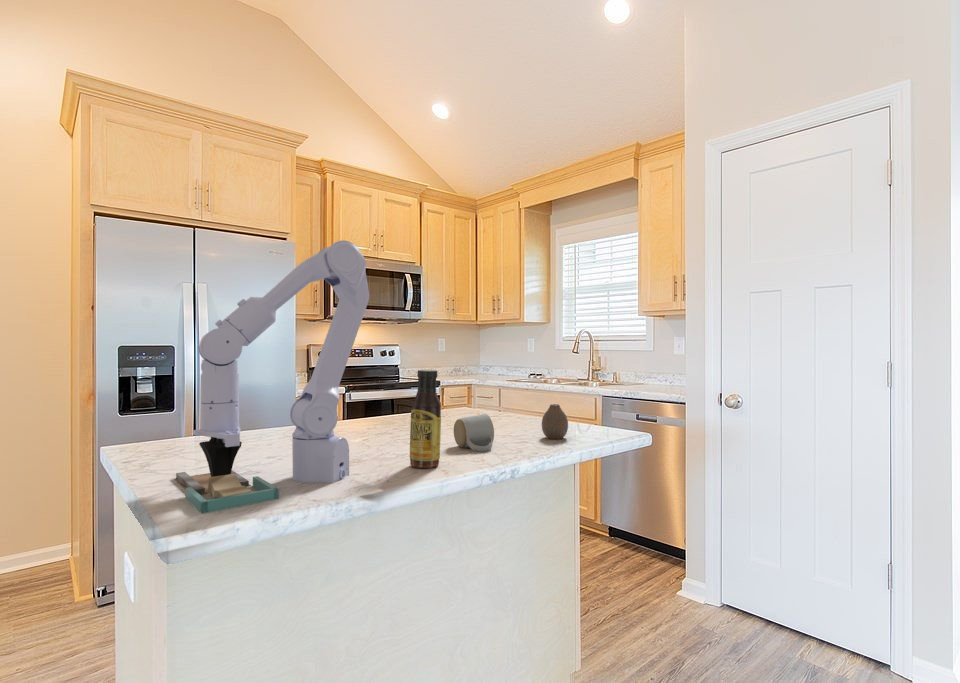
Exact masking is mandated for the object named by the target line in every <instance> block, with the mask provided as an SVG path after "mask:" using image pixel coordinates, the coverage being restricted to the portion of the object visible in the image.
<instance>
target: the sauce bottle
mask: <svg viewBox="0 0 960 683" xmlns="http://www.w3.org/2000/svg"><path fill="white" fill-rule="evenodd" d="M437 378H438V370H437V369H418V370H417V379H418V380H417V392H416V395H415V398H414V400H413V401H414V402H413V405H412V407H411V411H410V428H409V429H410V430H409V431H410V432H409V433H410V434H409V460H410V461H409V462H410V463H409V464H410V466H411V467H413V468H416V469H432V468H435V467H438V466H439V464H440V459H441V440H442V439H441V438H442V436H441V433H442V415H441V414H442V413H441V412H442V403H441V400H440V397H438V394H437Z"/></svg>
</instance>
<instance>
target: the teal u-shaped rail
mask: <svg viewBox="0 0 960 683" xmlns="http://www.w3.org/2000/svg"><path fill="white" fill-rule="evenodd" d="M252 487H253V488H255V489H257V490H256V491H252V492H249V493H244V494H238V495H233V496H227V497H222V498H212V499H205V497H203V496H202V495H200V494H199V493H197V492H196V491H195V490H194V489H193V488H192V487H188V488H186V490H185V499H186V500H187V501H188V502H189V503H190V504H191V505H192V506H193V507H194V508H196V509H197V510H198V511H199V512H200V514H206V513H211V512H216V511H221V510H226V509H233V508H237V507H242V506H247V505H252V504H257V503H263V502H268V501H274V500H278V499H279V498H280V488H279V487H277V486H276V485H273V484H272V483H270V482H268V481H266V480H265V479H263V478H261V476H258V475H257V476H252Z"/></svg>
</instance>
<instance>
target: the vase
mask: <svg viewBox="0 0 960 683" xmlns="http://www.w3.org/2000/svg"><path fill="white" fill-rule="evenodd" d="M568 421H569V420H568V417H567V414H566V413H565V412H564V411H563V409H562V408H561V406H560V404H558V403H557V404H556V403H553V404H552V403H551V404H550V405H549V407H548V409H547V410H546V411H545V412H544V414H543V416H542V419H541V430H542V433H543V435H544V436H545V437H546V438H547V439H549V440H562V439H564V438H565V436H566V435H567V433H568V431H569V430H568V429H569V422H568Z"/></svg>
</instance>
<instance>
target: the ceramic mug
mask: <svg viewBox="0 0 960 683" xmlns="http://www.w3.org/2000/svg"><path fill="white" fill-rule="evenodd" d="M453 437H454V441H455V443H456V445H457V446H458V447H460V448H463V449H467V448H468V449H469V448H470V449H471V450H473V451H475V452H481V453H483V452H488V451H490V450H492V446H493V443H494V439H495V428H494V423H493V421H492V419H491V417H490V415H488V414H487V413H483V414H478V415H471V416H464V417H460V418H458V419H456V420H455V422H454V425H453Z"/></svg>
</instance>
